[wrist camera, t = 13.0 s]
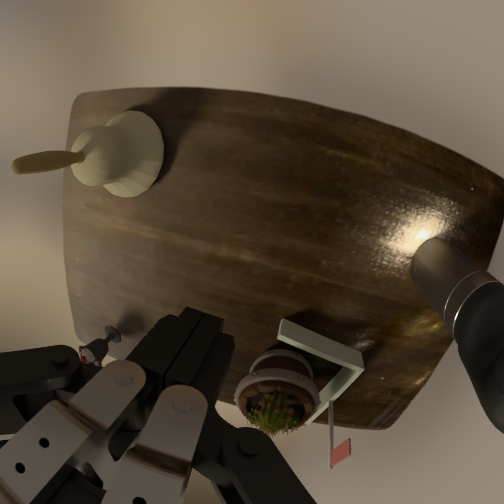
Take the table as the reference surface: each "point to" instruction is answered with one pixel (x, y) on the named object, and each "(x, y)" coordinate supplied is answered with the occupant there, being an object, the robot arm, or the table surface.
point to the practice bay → (338, 384)
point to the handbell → (108, 155)
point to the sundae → (98, 347)
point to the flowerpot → (278, 391)
